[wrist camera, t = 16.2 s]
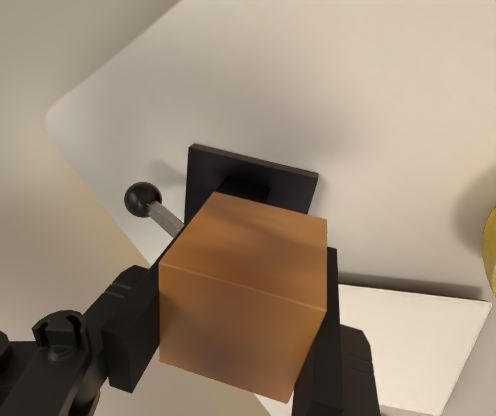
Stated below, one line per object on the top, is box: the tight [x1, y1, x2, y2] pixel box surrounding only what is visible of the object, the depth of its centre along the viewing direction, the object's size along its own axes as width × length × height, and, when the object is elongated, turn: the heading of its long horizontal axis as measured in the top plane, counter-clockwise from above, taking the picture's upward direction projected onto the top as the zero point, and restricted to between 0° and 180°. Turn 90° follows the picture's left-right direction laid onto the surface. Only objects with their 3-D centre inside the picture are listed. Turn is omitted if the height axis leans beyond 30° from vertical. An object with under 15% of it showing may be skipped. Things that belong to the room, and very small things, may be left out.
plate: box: [338, 283, 493, 416], centre depth 34 cm, size 19×19×2 cm
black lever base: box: [184, 144, 318, 224], centre depth 25 cm, size 12×9×12 cm
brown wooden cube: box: [159, 192, 327, 403], centre depth 12 cm, size 5×5×5 cm
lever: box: [124, 182, 185, 238], centre depth 24 cm, size 13×3×3 cm
